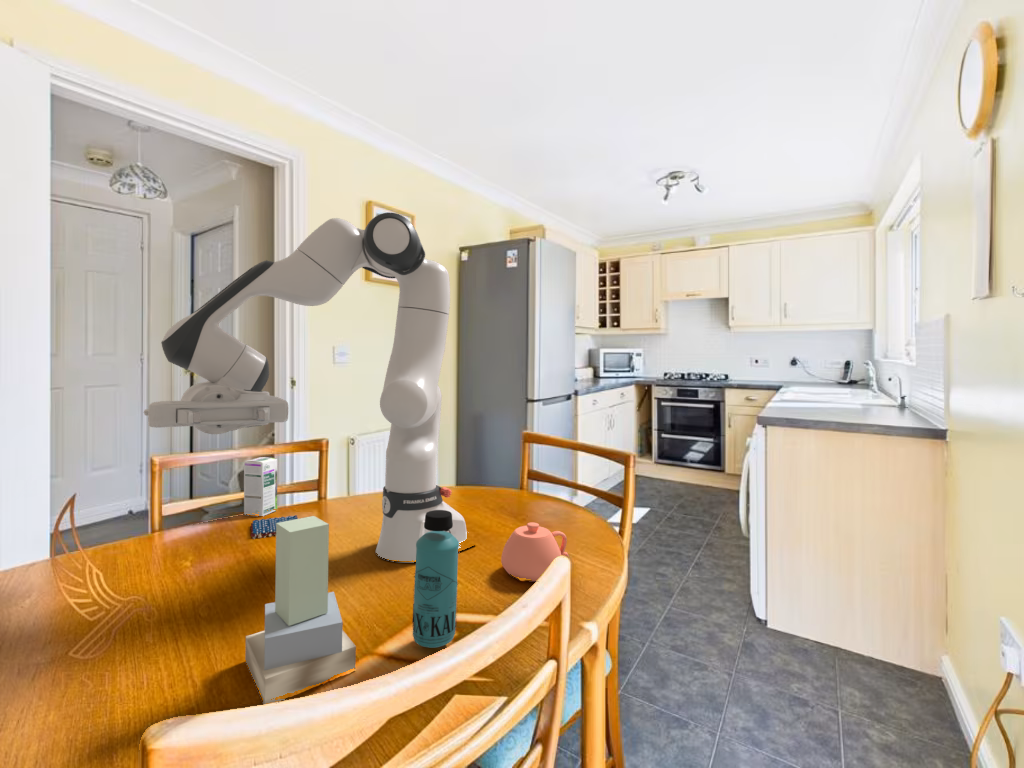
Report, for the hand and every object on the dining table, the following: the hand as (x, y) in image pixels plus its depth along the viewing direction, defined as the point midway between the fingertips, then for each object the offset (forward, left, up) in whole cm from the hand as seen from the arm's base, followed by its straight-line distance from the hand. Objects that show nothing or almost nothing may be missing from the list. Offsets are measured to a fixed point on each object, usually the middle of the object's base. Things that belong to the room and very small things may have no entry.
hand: (230, 417), depth 75 cm
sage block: (-5, +20, -24) cm, 32 cm away
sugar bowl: (-51, +18, -32) cm, 63 cm away
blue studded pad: (-16, -37, -33) cm, 52 cm away
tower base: (-5, +20, -32) cm, 39 cm away
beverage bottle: (-22, +27, -32) cm, 48 cm away
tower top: (-5, +21, -28) cm, 36 cm away
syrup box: (-16, -52, -32) cm, 63 cm away
